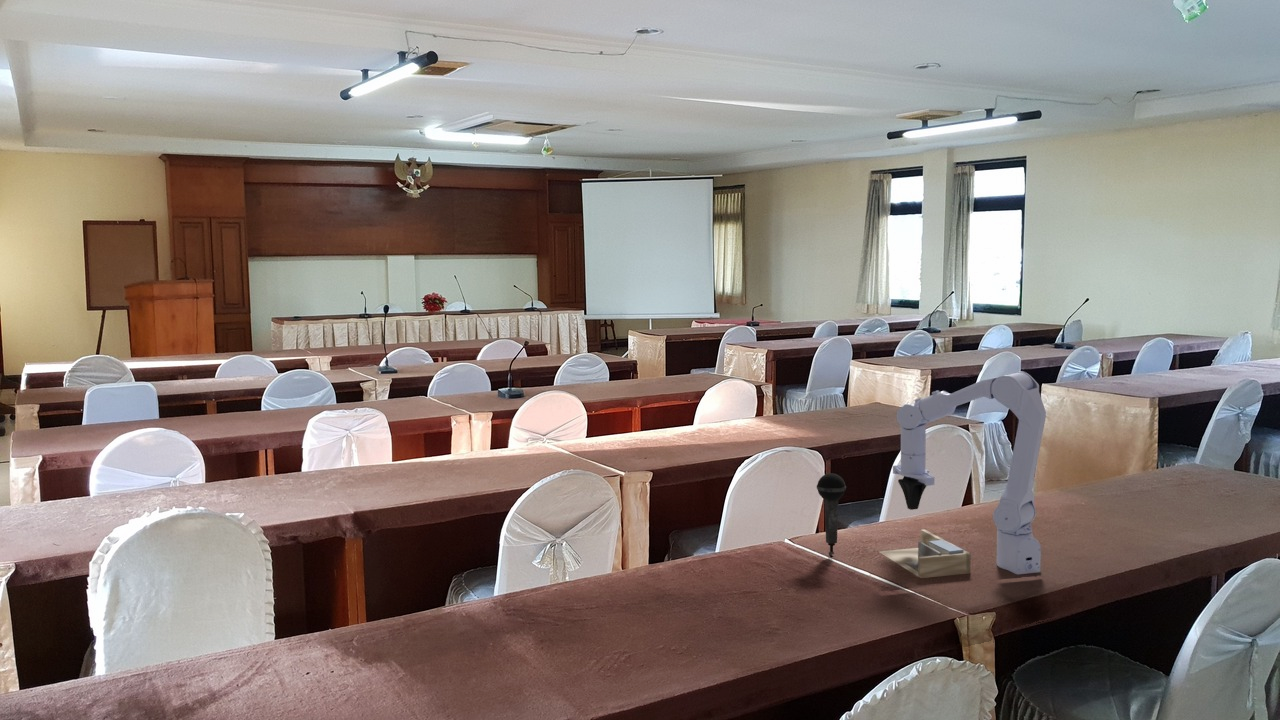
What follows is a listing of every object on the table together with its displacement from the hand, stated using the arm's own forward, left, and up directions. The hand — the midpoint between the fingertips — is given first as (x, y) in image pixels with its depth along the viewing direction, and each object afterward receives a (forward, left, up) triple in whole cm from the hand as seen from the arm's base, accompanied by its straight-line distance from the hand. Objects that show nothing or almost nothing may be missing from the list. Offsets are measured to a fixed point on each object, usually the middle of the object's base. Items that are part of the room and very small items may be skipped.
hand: (912, 508), depth 228 cm
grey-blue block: (-17, +1, -9) cm, 19 cm away
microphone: (0, +21, -10) cm, 23 cm away
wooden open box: (-12, +4, -10) cm, 16 cm away
